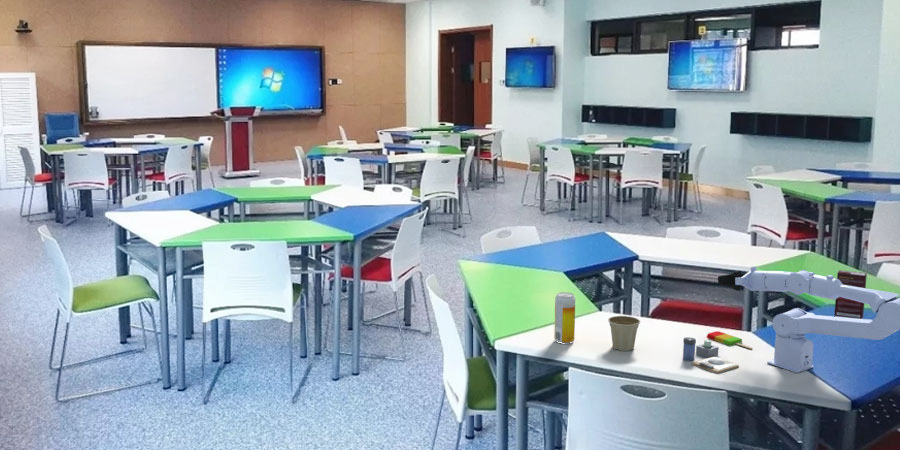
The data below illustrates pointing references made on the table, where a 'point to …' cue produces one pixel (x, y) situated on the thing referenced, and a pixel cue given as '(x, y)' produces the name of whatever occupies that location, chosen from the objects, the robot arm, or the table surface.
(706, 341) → the button
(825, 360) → the table surface
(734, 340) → the popsicle
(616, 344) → the flower pot
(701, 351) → the button housing
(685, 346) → the blue small bottle
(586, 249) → the table surface
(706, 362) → the clipboard
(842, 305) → the supplement box
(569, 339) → the beer can
